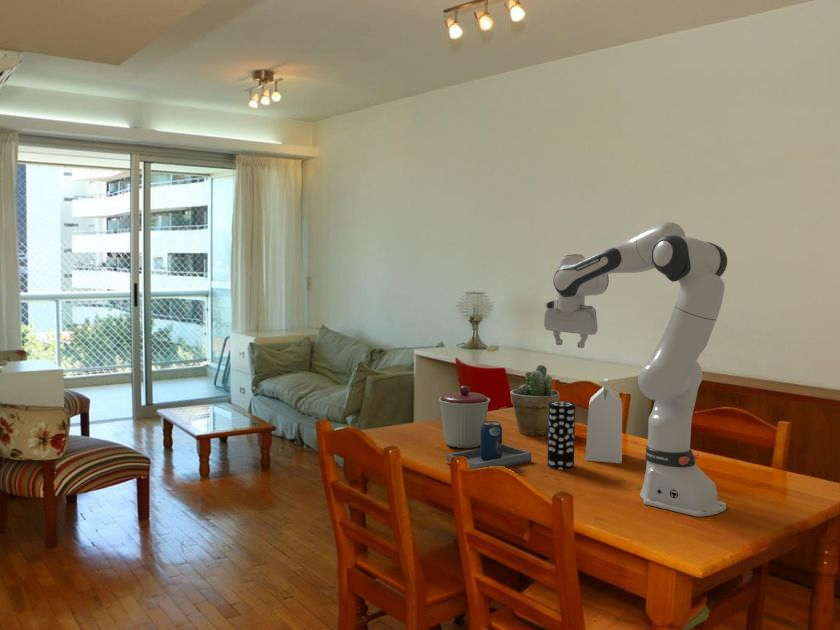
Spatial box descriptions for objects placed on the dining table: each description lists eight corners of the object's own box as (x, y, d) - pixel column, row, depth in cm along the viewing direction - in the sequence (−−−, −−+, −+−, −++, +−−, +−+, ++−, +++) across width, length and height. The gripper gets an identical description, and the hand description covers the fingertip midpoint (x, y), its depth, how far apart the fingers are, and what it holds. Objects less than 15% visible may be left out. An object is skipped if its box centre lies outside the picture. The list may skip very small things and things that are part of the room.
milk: (587, 451, 254) (589, 376, 252) (622, 453, 251) (624, 377, 249) (585, 460, 242) (587, 381, 240) (621, 463, 239) (623, 383, 237)
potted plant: (562, 438, 271) (564, 371, 269) (512, 438, 271) (513, 370, 269) (554, 427, 289) (555, 364, 287) (507, 426, 290) (508, 363, 288)
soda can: (501, 463, 235) (502, 425, 234) (480, 462, 235) (480, 425, 234) (501, 457, 241) (502, 420, 241) (480, 456, 242) (480, 420, 241)
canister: (461, 436, 274) (462, 379, 272) (500, 445, 261) (501, 386, 259) (427, 444, 261) (428, 385, 259) (466, 454, 248) (466, 392, 246)
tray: (531, 461, 240) (531, 452, 240) (475, 474, 226) (475, 464, 225) (501, 452, 251) (501, 443, 251) (446, 463, 237) (446, 454, 237)
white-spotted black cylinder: (573, 470, 230) (575, 407, 229) (546, 468, 232) (548, 405, 231) (573, 463, 239) (575, 402, 237) (547, 461, 240) (549, 400, 239)
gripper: (602, 305, 236) (601, 348, 237) (554, 302, 252) (553, 342, 253) (589, 306, 232) (588, 350, 233) (541, 303, 248) (540, 343, 249)
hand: (569, 346), depth 243 cm, fingers open, 8 cm apart
